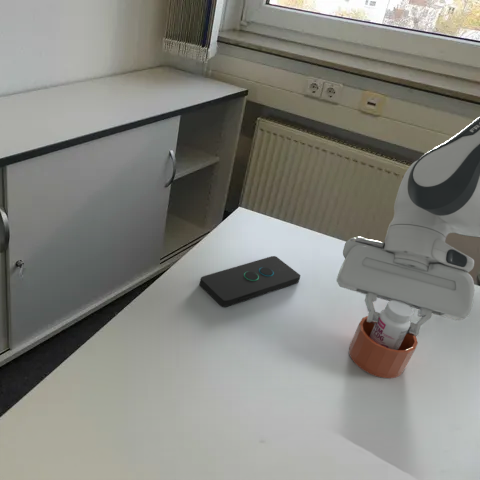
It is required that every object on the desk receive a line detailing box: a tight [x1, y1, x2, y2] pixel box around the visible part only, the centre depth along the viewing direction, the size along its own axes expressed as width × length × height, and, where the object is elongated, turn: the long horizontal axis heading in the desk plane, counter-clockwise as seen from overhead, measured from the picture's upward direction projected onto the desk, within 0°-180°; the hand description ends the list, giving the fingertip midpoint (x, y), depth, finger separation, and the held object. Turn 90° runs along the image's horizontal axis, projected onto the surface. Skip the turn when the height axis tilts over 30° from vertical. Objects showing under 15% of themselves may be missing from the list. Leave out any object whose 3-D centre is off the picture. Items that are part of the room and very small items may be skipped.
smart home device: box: [198, 255, 301, 308], centre depth 108 cm, size 8×2×20 cm
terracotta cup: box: [348, 315, 419, 379], centre depth 91 cm, size 9×9×6 cm
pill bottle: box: [369, 300, 414, 350], centre depth 89 cm, size 5×5×8 cm
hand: (391, 328), depth 89 cm, fingers closed on pill bottle, 5 cm apart
